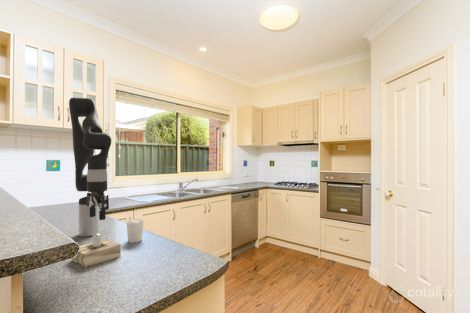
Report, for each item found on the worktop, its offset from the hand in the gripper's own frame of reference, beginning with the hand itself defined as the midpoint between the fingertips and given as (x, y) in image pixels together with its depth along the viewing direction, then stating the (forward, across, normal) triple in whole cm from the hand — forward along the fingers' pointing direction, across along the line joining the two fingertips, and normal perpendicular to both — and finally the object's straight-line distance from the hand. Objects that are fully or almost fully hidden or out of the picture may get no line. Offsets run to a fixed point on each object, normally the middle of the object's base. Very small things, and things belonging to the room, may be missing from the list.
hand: (97, 218), depth 103 cm
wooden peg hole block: (+17, 0, 0) cm, 17 cm away
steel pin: (+17, 0, 0) cm, 17 cm away
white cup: (+17, -7, +22) cm, 29 cm away
